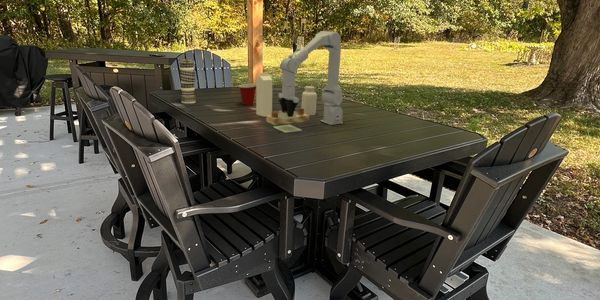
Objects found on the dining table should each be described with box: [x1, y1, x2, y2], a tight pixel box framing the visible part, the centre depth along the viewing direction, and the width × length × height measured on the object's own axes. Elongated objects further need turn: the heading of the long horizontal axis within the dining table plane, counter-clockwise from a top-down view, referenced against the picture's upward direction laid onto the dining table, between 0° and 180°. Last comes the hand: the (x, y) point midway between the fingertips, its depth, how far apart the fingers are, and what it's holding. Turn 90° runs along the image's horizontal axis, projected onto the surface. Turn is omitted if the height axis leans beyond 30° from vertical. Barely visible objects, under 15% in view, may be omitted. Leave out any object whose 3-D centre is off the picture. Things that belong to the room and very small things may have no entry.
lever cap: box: [278, 110, 298, 119], centre depth 176 cm, size 7×4×3 cm, turn 123°
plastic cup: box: [238, 83, 256, 107], centre depth 229 cm, size 11×11×12 cm
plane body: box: [265, 107, 310, 126], centre depth 192 cm, size 20×8×6 cm, turn 122°
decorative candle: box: [178, 58, 197, 104], centre depth 228 cm, size 9×9×25 cm
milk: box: [255, 72, 273, 117], centre depth 202 cm, size 6×6×22 cm
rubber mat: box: [273, 124, 303, 134], centre depth 178 cm, size 11×9×1 cm
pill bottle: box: [300, 85, 318, 117], centre depth 208 cm, size 8×8×15 cm
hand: (287, 115), depth 176 cm, fingers closed on lever cap, 4 cm apart
